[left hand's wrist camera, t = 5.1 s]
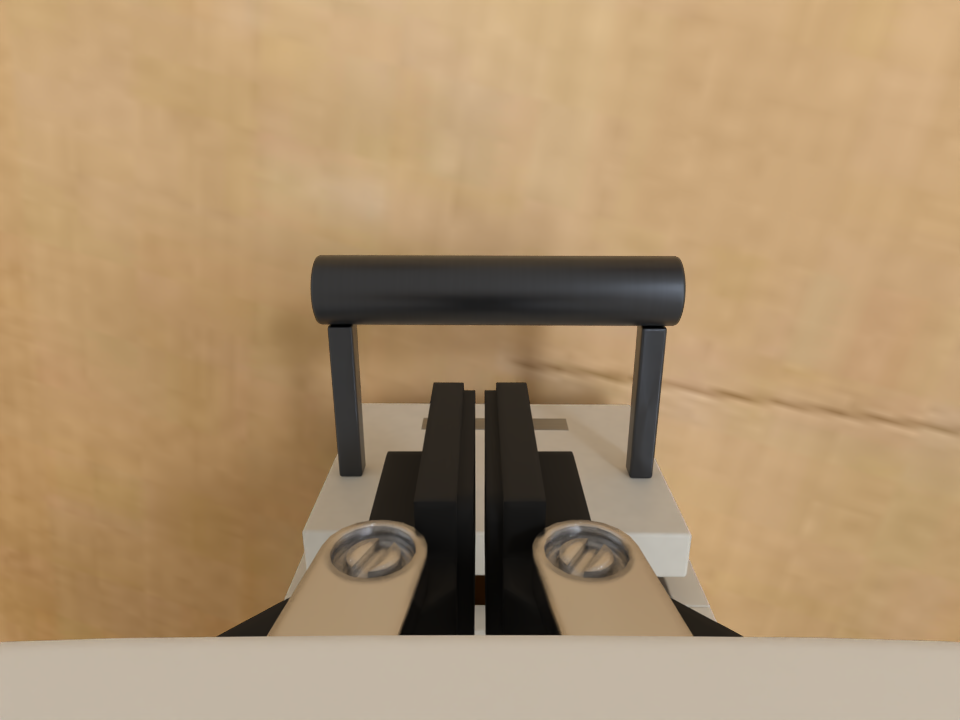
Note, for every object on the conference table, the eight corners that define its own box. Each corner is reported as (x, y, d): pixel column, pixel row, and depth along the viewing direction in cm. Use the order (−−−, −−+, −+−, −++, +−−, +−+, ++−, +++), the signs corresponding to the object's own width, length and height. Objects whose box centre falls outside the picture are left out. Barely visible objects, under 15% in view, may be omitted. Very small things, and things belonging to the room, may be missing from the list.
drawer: (347, 225, 20) (273, 283, 13) (645, 226, 20) (724, 284, 13) (384, 773, 28) (349, 988, 21) (599, 776, 28) (634, 993, 21)
